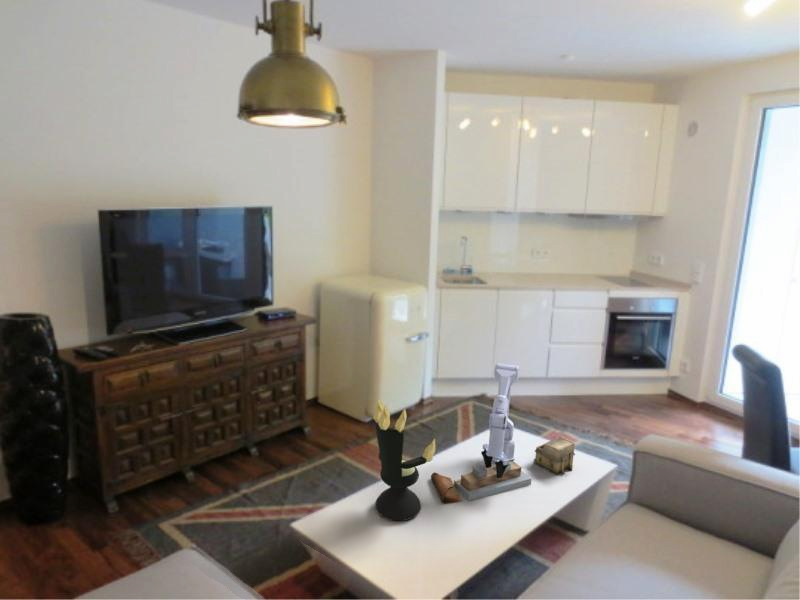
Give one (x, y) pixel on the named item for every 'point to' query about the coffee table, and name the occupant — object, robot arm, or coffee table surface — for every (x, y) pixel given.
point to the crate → (479, 471)
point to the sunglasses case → (445, 489)
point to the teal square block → (507, 466)
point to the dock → (493, 487)
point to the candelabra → (397, 468)
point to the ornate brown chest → (555, 455)
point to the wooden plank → (489, 477)
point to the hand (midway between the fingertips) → (493, 472)
